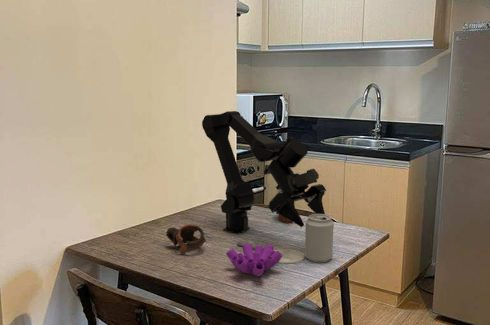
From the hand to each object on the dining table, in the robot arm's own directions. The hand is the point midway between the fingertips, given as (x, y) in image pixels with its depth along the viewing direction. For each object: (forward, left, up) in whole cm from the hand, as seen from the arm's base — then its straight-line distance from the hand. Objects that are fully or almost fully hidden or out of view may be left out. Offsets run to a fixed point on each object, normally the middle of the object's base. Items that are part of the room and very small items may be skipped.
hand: (314, 222), depth 135 cm
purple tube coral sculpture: (-8, -18, -10) cm, 22 cm away
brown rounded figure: (-33, -15, -10) cm, 38 cm away
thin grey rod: (-17, -4, -10) cm, 20 cm away
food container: (-24, +27, -10) cm, 37 cm away
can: (+2, 0, -10) cm, 10 cm away
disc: (-6, -4, -10) cm, 12 cm away
